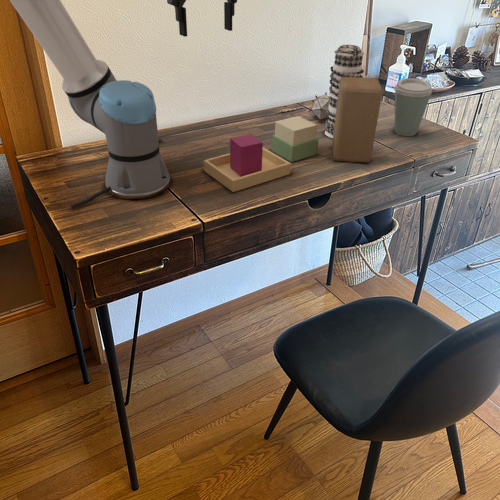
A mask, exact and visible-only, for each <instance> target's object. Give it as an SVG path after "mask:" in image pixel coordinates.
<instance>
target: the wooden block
mask: <svg viewBox="0 0 500 500" xmlns="http://www.w3.org/2000/svg"><path fill="white" fill-rule="evenodd" d="M382 97H383V88H382V85H381V83H380V81H379V79H378V78H375V77H363V78H359V77H343V78H341V80H340V85H339V93H338V101H337V109H336V118H335V126H334V134H333V138H332V142H331V143H332V144H331V149H332V158H333V160H334V161H336V162H350V163H352V162H353V163H366V164H367V163H370V161H371V160H372V155H373V154H372V153H373V149H374V144H375V143H374V142H375V138H376V133H377V125H378V120H379V114H380V109H381V104H382Z"/></svg>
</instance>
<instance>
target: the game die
mask: <svg viewBox="0 0 500 500" xmlns="http://www.w3.org/2000/svg"><path fill="white" fill-rule="evenodd" d="M327 94H328V93H327V91H326V92H325V93H324V94H322V95H320V96H318V95H316V94H315V96H314V97H315V99H314V100H311V102H312V106H311V109H308V112H311V113H312V114H313V115H314V118H316V117H317V119H318V120H319V123H322V121H323V120H325V119H327V115H328V114H327V110H329V109H328V108H329V104H330V98H331V97H330V96H329V95H327Z"/></svg>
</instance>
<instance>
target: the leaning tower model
mask: <svg viewBox="0 0 500 500" xmlns="http://www.w3.org/2000/svg"><path fill="white" fill-rule="evenodd" d="M333 52H334V54H335V55H334V62H333V65H332V66H330V68H329V69H330V72H331V73H330V75H329V78H330V79H329V84H330V86H329V88H328V89H329V91H328V96H329V98H330V104H329V108H328V109H329V110H327V114H328V115H327V118H326V119H327V120H325V126H324V129H325V131H324V134H325V136H327V137H328V138H330V139H333V134H334V126H335V118H336V109H337V101H338V93H339V85H340V80H341V78H343V77H359V78H364V76H363V75H362V74H363V73H364V72H365V70H364V69H363V57H364V54H365V53H364V51H363V50H362V48H361V47H360V46H358V45H356V44H342V45H340V46H339V47H337V49H336V50H334V51H333Z"/></svg>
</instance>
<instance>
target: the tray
mask: <svg viewBox="0 0 500 500" xmlns="http://www.w3.org/2000/svg"><path fill="white" fill-rule="evenodd" d="M291 169H292V162H291V161H289V160H287V159H285V158H284V157H282V156H280V155H278V154H277V153H275V152H273V151H271V150H269V149H267V148H266V147H264V146H263V150H262V171H259V172H256V173H252V174H249V175H246V176H242V177H240V176H239V175H238V174H237V173H236V172H235V171H234V170H232V169H231V168H230V152H229V153H226V154H222V155H219V156H215V157H211V158H210V157H209V158H207V159H204V160H203V171H204V172H205V173H206V174H208V175H209V176H210V177H212V178H213V179H215V180H216V181H217V182H218V183H220V184H222V185H223V186H224V187H225V188H226V189H228V190H229V191H231V192H233V193H235V192H239V191H241V190H245V189H247V188H250V187H254V186H258V185H260V184H263V183H266V182H267V183H268V182H270V181H272V180H276V179H279V178H282V177H286V176H287V175H288V176H289V175H291Z"/></svg>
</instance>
